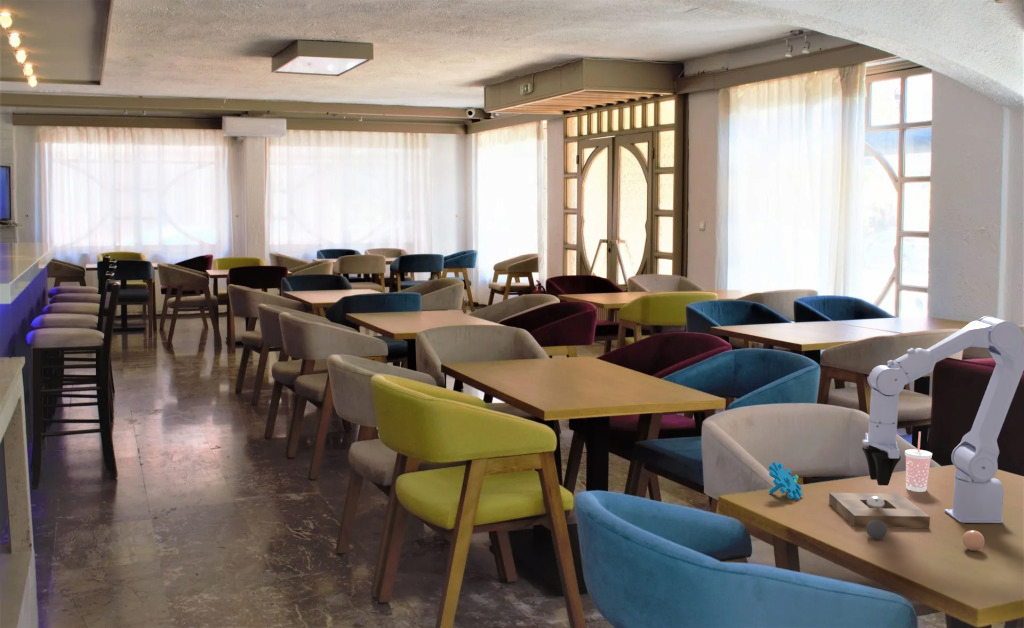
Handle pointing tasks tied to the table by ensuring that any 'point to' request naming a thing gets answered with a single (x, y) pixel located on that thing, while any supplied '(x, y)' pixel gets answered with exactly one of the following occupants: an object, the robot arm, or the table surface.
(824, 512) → the table surface
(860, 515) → the wooden square frame
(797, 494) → the blue branched piece
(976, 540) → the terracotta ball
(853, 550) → the table surface
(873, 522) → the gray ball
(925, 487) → the beverage cup
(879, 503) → the steel ball
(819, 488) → the table surface
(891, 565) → the table surface
